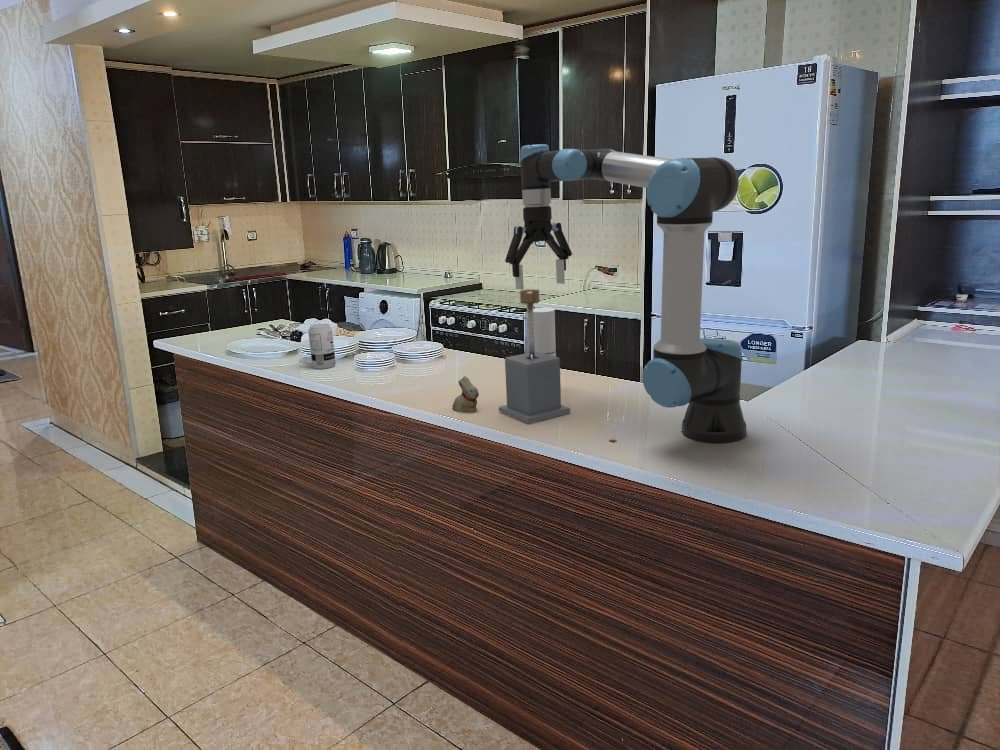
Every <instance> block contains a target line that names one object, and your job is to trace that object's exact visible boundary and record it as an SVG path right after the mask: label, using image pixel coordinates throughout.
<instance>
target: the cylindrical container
mask: <svg viewBox="0 0 1000 750" xmlns="http://www.w3.org/2000/svg"><path fill="white" fill-rule="evenodd" d="M555 312H556V310H555V308H553V307H536V308H533V316H534V344H535V352H536V351H537V352H540V353H544V354H547V355H551V356H555V357H557V351H556V350H557V349H556V346H557V345H556V318H555V317H556V313H555Z"/></svg>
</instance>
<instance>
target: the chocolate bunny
mask: <svg viewBox="0 0 1000 750" xmlns="http://www.w3.org/2000/svg"><path fill="white" fill-rule="evenodd" d="M458 385H459V387H460V388H461V394H459V395H457V396H456V397H455V398H454V401H453V404H452V409H453V411H455V412H459V411H460V413H475V412H477V411H476V410H478V409H477V404H478V400H477V399H478V398H479V395H480V393H479V390H478V388H477V387H476V386H475V385H474V384H473V383H472V382H471V380H470V379H469V377H467V376H466V375H464V376H463V377H462V378H461V379H459V380H458ZM474 411H475V412H474Z"/></svg>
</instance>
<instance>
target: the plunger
mask: <svg viewBox="0 0 1000 750" xmlns="http://www.w3.org/2000/svg"><path fill="white" fill-rule="evenodd" d="M519 297H520V299H519V300H520V304H522V305H523V304H524V305H526V312H527V315H526V316H527V337H528V338H527V339H528V353H529V359H530V360H532V359H535V344H534V316H533V309H534V304H538V303H540V290H539V289H523V290H520V291H519Z"/></svg>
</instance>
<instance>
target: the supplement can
mask: <svg viewBox="0 0 1000 750" xmlns="http://www.w3.org/2000/svg"><path fill="white" fill-rule="evenodd" d="M307 333H308V341H309V347H310V348H309V349H310V357H311V358H310V359H311V367H313V368H314V369H317V370H329V369H332V368H333V367H335V365H336V355H335V344H334V337H333V328H332V327H331V324H329V323H328V324H327V323H321V324H313V325H310V326H309V329H308V332H307Z"/></svg>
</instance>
